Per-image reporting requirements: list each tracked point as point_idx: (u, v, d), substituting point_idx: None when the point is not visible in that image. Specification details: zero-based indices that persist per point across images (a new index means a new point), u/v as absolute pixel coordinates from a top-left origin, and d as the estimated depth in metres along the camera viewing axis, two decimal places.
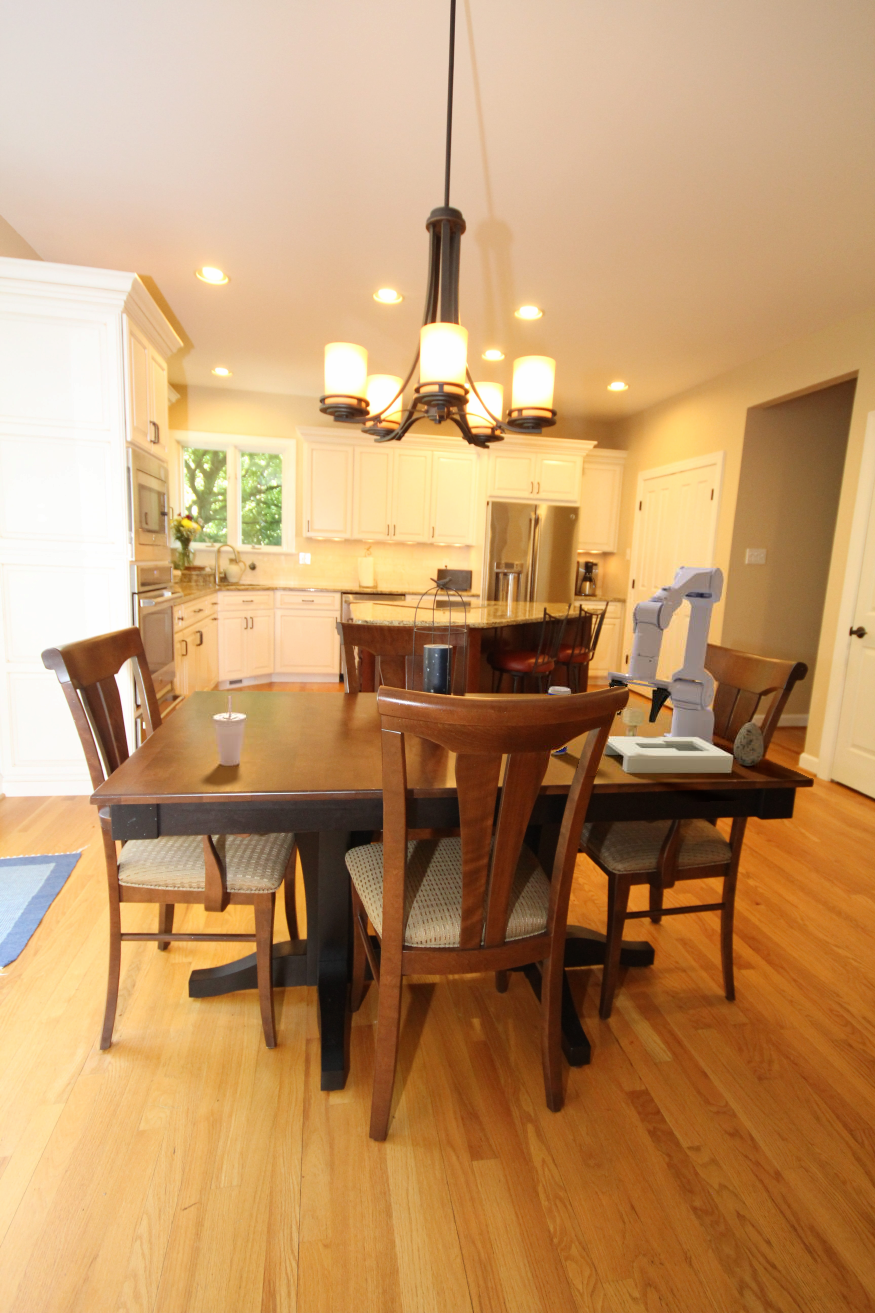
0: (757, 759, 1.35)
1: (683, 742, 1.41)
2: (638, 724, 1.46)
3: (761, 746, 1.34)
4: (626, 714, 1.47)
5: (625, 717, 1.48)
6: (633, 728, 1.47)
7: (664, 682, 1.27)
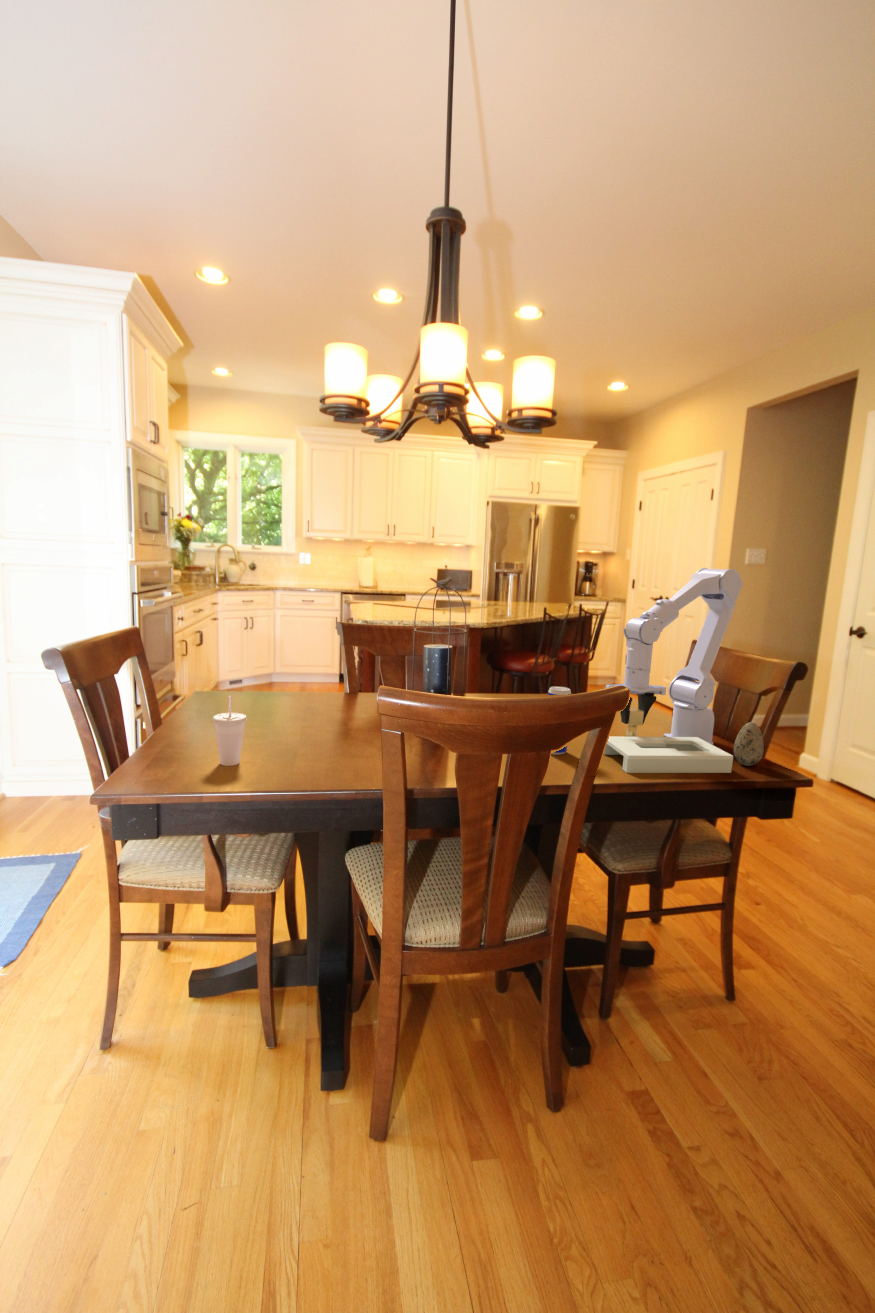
0: (757, 759, 1.35)
1: (683, 742, 1.41)
2: (638, 724, 1.46)
3: (761, 746, 1.34)
4: None
5: None
6: (633, 728, 1.47)
7: (659, 688, 1.46)
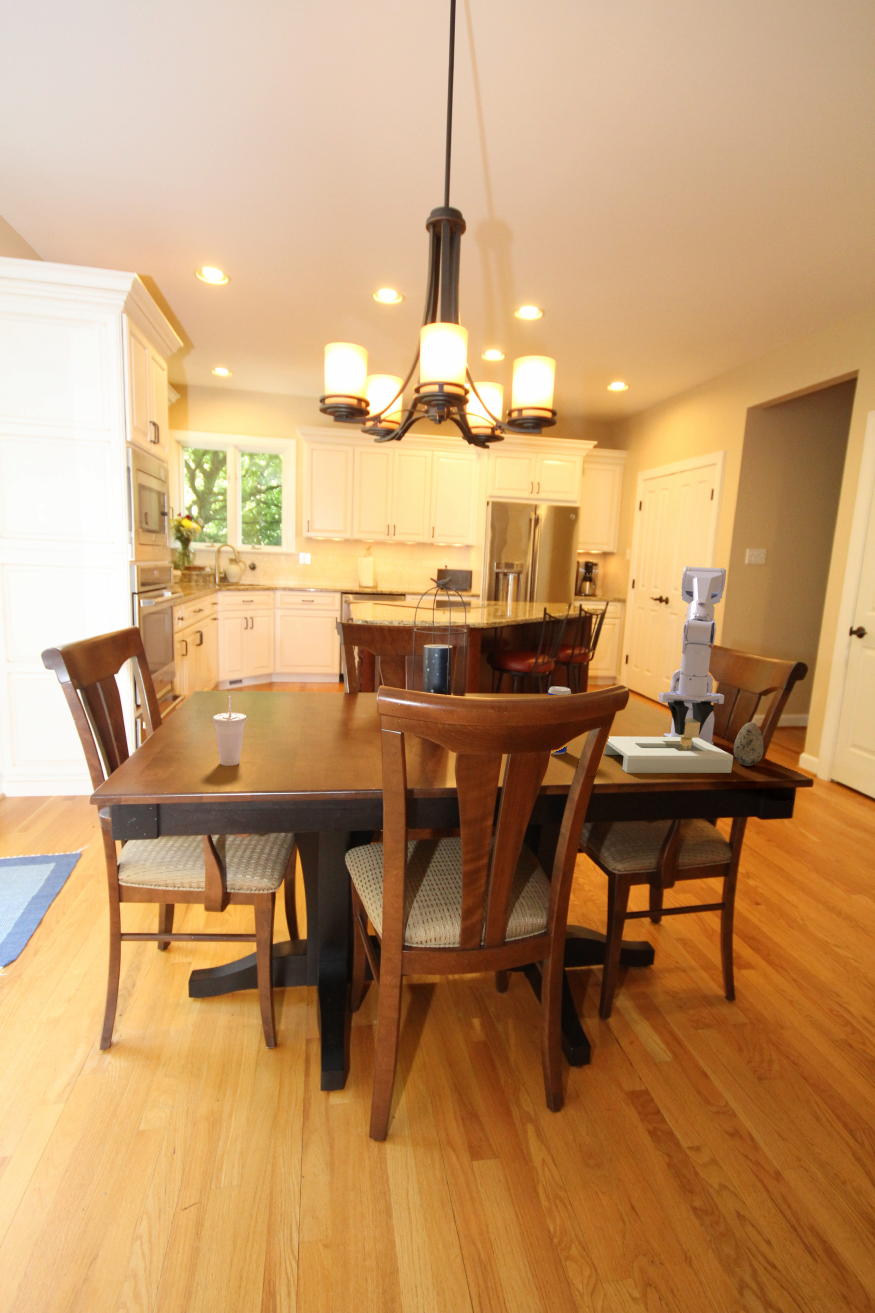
0: (757, 759, 1.35)
1: None
2: (693, 736, 1.35)
3: (761, 746, 1.34)
4: None
5: None
6: (688, 740, 1.36)
7: (717, 697, 1.35)
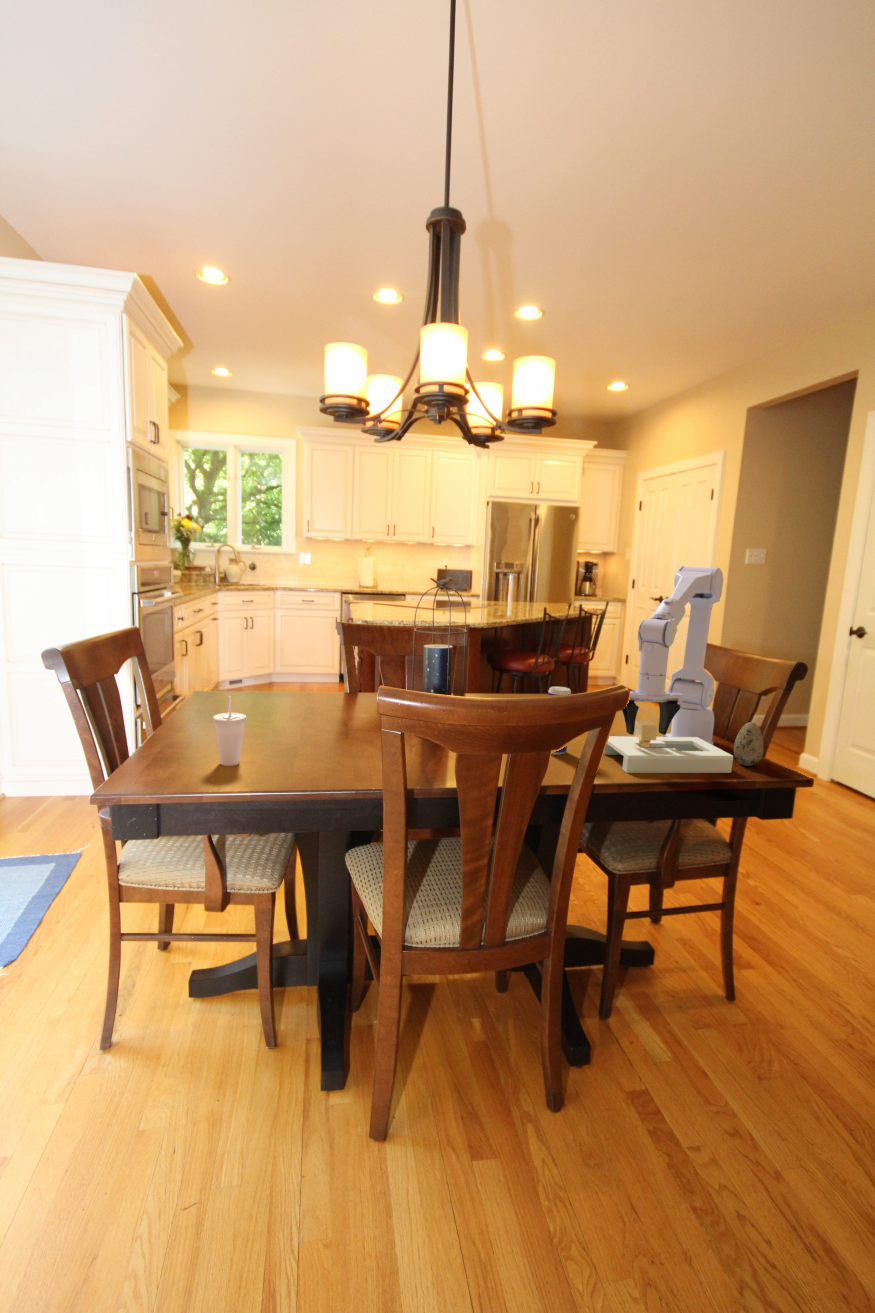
0: (757, 759, 1.35)
1: (683, 742, 1.41)
2: (651, 738, 1.34)
3: (761, 746, 1.34)
4: (638, 728, 1.35)
5: (637, 731, 1.35)
6: (646, 743, 1.34)
7: (676, 696, 1.33)
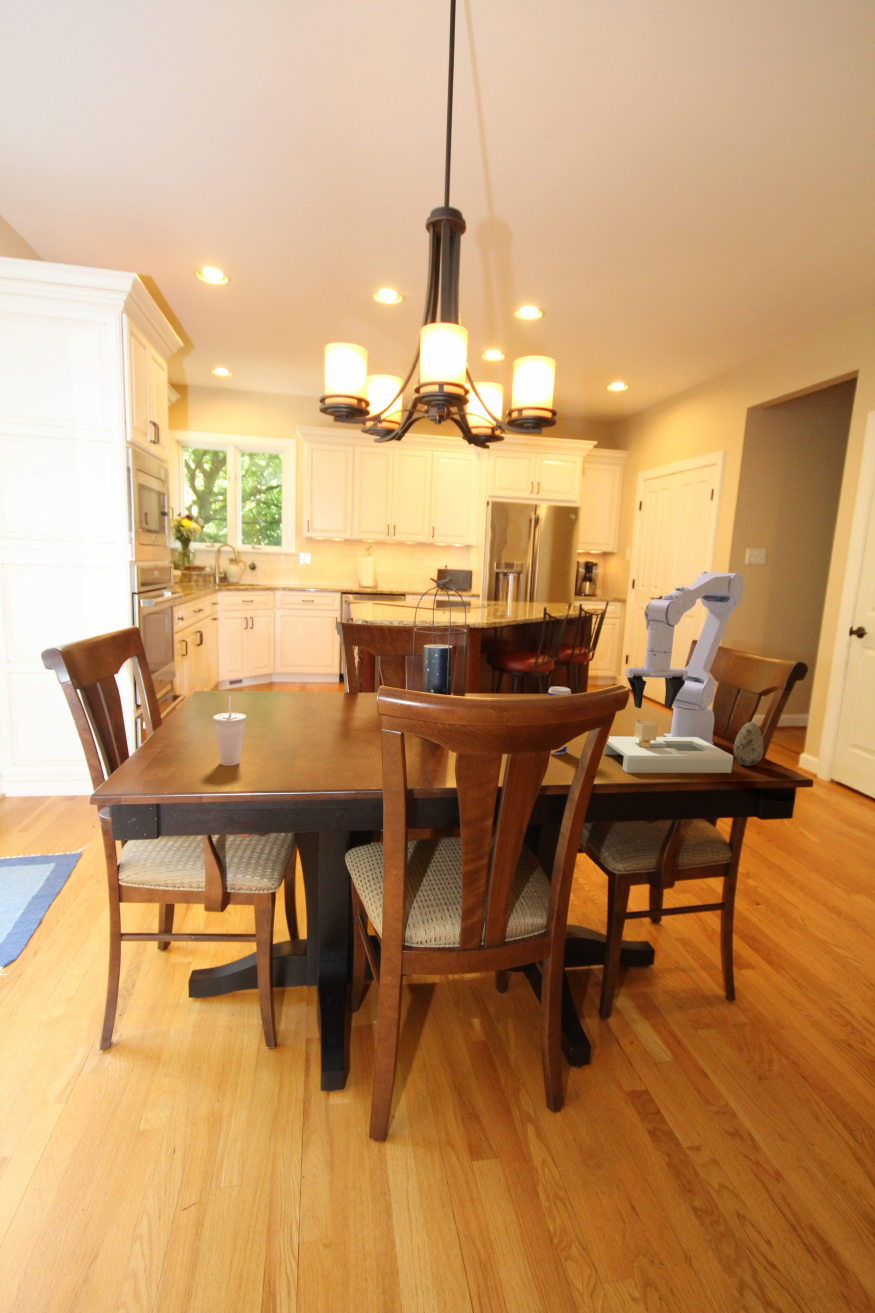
0: (757, 759, 1.35)
1: (683, 742, 1.41)
2: (651, 738, 1.34)
3: (761, 746, 1.34)
4: (638, 728, 1.35)
5: (637, 731, 1.35)
6: (646, 743, 1.34)
7: (681, 672, 1.42)
